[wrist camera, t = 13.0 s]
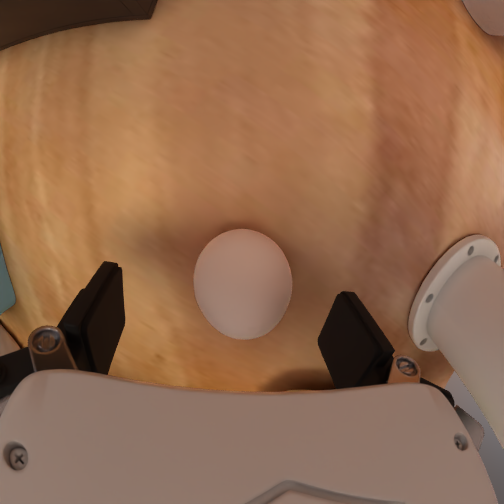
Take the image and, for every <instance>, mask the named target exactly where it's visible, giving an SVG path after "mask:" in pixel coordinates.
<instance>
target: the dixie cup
mask: <svg viewBox="0 0 504 504" xmlns="http://www.w3.org/2000/svg"><path fill="white" fill-rule="evenodd" d="M462 1H463V3H464V5H465V7H466V9H467V10H468V12H469V14H470V15H471V17H472V18H473V19H474V21H475V22H476V23H477V24H478V25H479V27H480V28H481V29H482V30H484V31H485V32H486V33H488V34H489V35H497V36H504V0H462Z"/></svg>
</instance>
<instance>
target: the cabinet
mask: <svg viewBox="0 0 504 504" xmlns="http://www.w3.org/2000/svg"><path fill="white" fill-rule="evenodd" d="M156 2H157V0H0V50H3V49H5V48H8V47H10V46H13V45H16V44H18V43H21V42H24V41H27V40H30V39H33V38H36V37H40V36H43V35H46V34H50V33H54V32H58V31H62V30H66V29H71V28H76V27H81V26H86V25H92V24H99V23H106V22H115V21H125V20H140V19H150V18H151V16H152V13H153V10H154V8H155V5H156Z"/></svg>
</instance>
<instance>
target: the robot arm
mask: <svg viewBox="0 0 504 504" xmlns="http://www.w3.org/2000/svg"><path fill="white" fill-rule="evenodd" d="M124 326H125V310H124V296H123V277H122V268H121V267H118V264H117V263H114V262H107V261H104V262H103V264H102V265H101V266H100V268H99V269H98V270H97V272H96V273H95V275H94V276H93V277H92V279H91V280H90V282H89V283H88V285H87V286H86V288H85V289H81V291H80V292H79V293H78V295H77V296H76V298H75V299H74V301H73V302H72V304H71V305H70V307H69V308H68V310H67V311H66V313H65V314H64V316H63V318H62V319H61V321H60V322H59V324H58V326H57V327H54V326H41V327H39V328H37V329H35V330H34V331H33V332H32V333H31V334H30V336H29V338H28V347H25V348H22V349H20V350H17V351H14V352H11V353H8V354H6V355H3V356H0V504H498V502H497V498H496V495H495V492H494V489H493V487H492V484H491V481H490V479H489V476H488V474H487V471H486V469H485V467H484V464H483V462H482V460H481V458H480V456H479V453H478V451H479V448H480V446H481V443H482V440H483V437H484V430H483V427H482V425H481V424H480V423H479V422H477V421H476V420H475V419H474V418H472V417H471V416H470V415H469V414H467V413H466V412H465V411H464V410H463V409H461V408H460V407H459V406H458V405H456V407H454V400H453V397H452V395H451V393H450V392H449V391H447V390H445V389H443V388H441V387H439V386H437V385H435V384H433V383H431V382H429V381H427V380H425V379H423V378H421V377H420V375H421V370H420V367H419V365H418V364H417V362H416V361H414V360H413V359H412V358H410V357H408V356H405V355H397V356H396V357H394V358H393V356H392V355H393V353H394V352H395V350H394V348H393V347H392V345H391V344H390V342H389V341H388V339H387V338H386V336H385V335H384V333H383V332H382V330H381V329H380V327H379V326H378V325H377V323H376V322H375V320H374V319H373V317H372V316H371V315H370V313H369V312H368V310H367V309H366V307H365V306H364V305H363V303H362V302H361V301H360V299H359V298H358V296H357V295H356V294H355V293H354V292H348V291H342V292H341V293H340V294H338V295H337V296H336V298H335V301H334V303H333V305H332V308H331V310H330V312H329V315H328V317H327V319H326V322H325V324H324V326H323V328H322V330H321V333H320V335H319V337H318V346H319V349H320V351H321V353H322V356H323V358H324V361H325V363H326V365H327V368H328V370H329V373H330V375H331V378H332V380H333V383H334V385H335V387H336V389H332V390H318V391H296V392H245V391H224V390H209V389H198V388H188V387H179V386H171V385H164V384H157V383H150V382H143V381H137V380H131V379H126V378H120V377H115V376H110V375H107V374H108V371H109V368H110V365H111V362H112V359H113V356H114V353H115V351H116V348H117V345H118V342H119V339H120V337H121V334H122V331H123V328H124ZM408 330H409V335H410V337H411V339H412V341H413V342H414V344H415V345H416V346H417V348H419V349H421V350H423V351H436V350H440V351H441V352H442V354H443V355H444V356H445V358H446V359H447V361H448V362H449V363H450V365H451V366H452V367H453V369H454V370H455V372H456V373H457V375H458V376H459V377H460V379H461V380H462V382H463V383H464V385H465V386H466V387H467V389H468V391H469V392H470V394H471V395H472V397H473V398H474V400H475V401H476V403H477V405H478V406H479V408H480V409H481V411H482V413H483V414H484V416H485V418H486V419H487V421H488V423H489V424H490V426H491V428H492V429H493V431H494V433H495V435H496V437H497V438H498V440H499V441H500V444H501V446H502V448H503V449H504V269H503V268H501V259H500V253H499V249H498V247H497V245H496V244H495V242H493V241H492V240H490V239H489V238H488V237H486V236H483V235H472V236H468V237H466V238H464V239H462V240H461V241H459V242H457V243H456V244H455V245H454V246H452V247H451V248H450V249H449V250H448V251H447V252H446V253H445V254H444V255H443V256H442V257H441V258H440V259H439V260H438V262H437V263H436V264H435V265H434V267H433V268H432V269H431V270H430V272H429V274H428V275H427V277H426V278H425V280H424V281H423V283H422V285H421V287H420V289H419V291H418V293H417V294H416V297H415V300H414V302H413V305H412V307H411V311H410V315H409V322H408Z"/></svg>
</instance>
